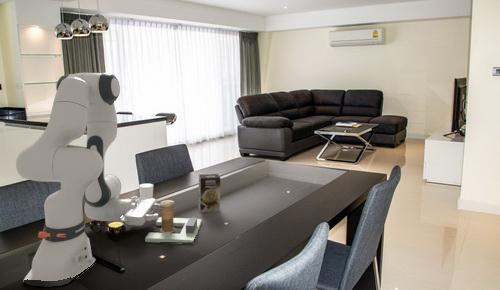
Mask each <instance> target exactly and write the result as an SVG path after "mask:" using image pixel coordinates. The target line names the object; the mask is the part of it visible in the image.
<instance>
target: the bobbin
mask: <svg viewBox="0 0 500 290" xmlns="http://www.w3.org/2000/svg"><path fill="white" fill-rule="evenodd" d="M159 204H160V206H161V210H160V211H161V212H160V214H161V216H160V217H162V226H161V228H160V233H174V234H175V231H176V227H175V226H174V222H173V218H174V206H175V201H174V200H170V199H165V200H162V201H160V202H159Z"/></svg>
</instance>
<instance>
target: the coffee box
mask: <svg viewBox="0 0 500 290" xmlns="http://www.w3.org/2000/svg"><path fill="white" fill-rule="evenodd" d="M197 202H198V205H197V206H198V211H199V213H212V212H220V211H221V209H220V208H221V206H220V205H221V176H220V174H219V173H209V174H206V173H205V174H204V173H203V174H198V201H197Z"/></svg>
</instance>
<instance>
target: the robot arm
mask: <svg viewBox="0 0 500 290" xmlns="http://www.w3.org/2000/svg"><path fill="white" fill-rule="evenodd" d="M55 88H56V93H55V95H54V99H53V102H52V107H51V112H50V115H49V119H48V123H47V126H46V128H45V130H44V131H43V133H42V134H41V135H40V136H39V138H38V139H37V140H36V141H35V142H34V143H32V144H31V145H30V146H28V147H27V148H24V149H22V150H21V151H20V153H19V154H18V156H17V158H16V161H15V165H16V166H15V168H16V171H17V173H18V175H19V176H20V177H21V178H23V179H25V180H28V181H29V180H30V181H34V182H49V183H50V182H52V183H53V182H54V183H59V184H60V190H57V191H55V192H53V193H51V194H49V195H48V197H46V199H45V200H44V204H43V208H44V220H45V221H44V222H45V223H44V227H43V230H42V231H39V232H38V234H37V235H38V236H37V237H38V238H39V239H42V240H41V242H40V244H39V247H38V248H37V251H36V253H35V255H34V256H33V259H32V262H31V269H30V270H29V271H28V273H27V274H26V276H25V277H24V279H23V281H24V280H27V279H28V280H41V281H58V280H63V279H67V278H70V277H71V278H73V277H75V276H76V275H78V274H80V273H81V272H83V271H84V270H85V269H87V268H88V267H90V266H91V265H92V264H93V263H94V262H95V261H96V258H95V257H94V256H93V254H92V249H91V243H90V242H91V241H90V240H91V239H90V238H89V237H88V235H87V233H86V232H85V231H86V222H85V218H84V214H85V216H86V217H87V218H88V219H91V220H94V221H101V222H109V221H115V222H120V223H124V224H126V225H127V226H137V227H139V226H144V224H145V223H146V221H147V222H149V221H153V220H154V221H155V220H156V221H157V220H158V218H159V217H160V214H159V213H154V214H152V213H153V212H154V211H155V210H159V211H161V206H160V203H158V202H157V199H156V198H153V197H152V198H144V197H141V198H140V197H138V195H133V196H130V197H128V198H120V196H121V193H122V192H121V191H122V182H121V180H120V179H119V178H118V177H117V176H116V175H113V174H105V156H106V152H107V151H108V149H109V147H110V146H112V143H113V142H114V141H115V140H116V138H117V134H118V119H117V111H116V106H115V102H116V100H117V99H118V98H119V96H120V93H121V92H120V91H121V88H120V82H119V79H118V78H117V77H116V76H115V74H112V73H109V72H102V73H101V72H78V73H67V74H64V75H62V76H60V77H59V78H58V80H57V82H56V87H55ZM85 132H86V133H87V135H86V137H87V138H86V148H85V147H73V146H72V147H69V146H68V145H69V144H71V143H72V142H74V141H75V140H77V139H80V138H81V137H82V136H83V135H84V134H85ZM83 201H84V202H83ZM83 205H84V206H83ZM83 210H84V211H83ZM83 212H84V213H83ZM96 262H97V261H96ZM93 265H94V264H93ZM93 265H92V266H93ZM92 266H91V267H92ZM91 267H90V268H91ZM88 269H89V268H88ZM88 269H87V270H88ZM83 273H84V272H83Z"/></svg>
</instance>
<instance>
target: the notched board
mask: <svg viewBox="0 0 500 290" xmlns="http://www.w3.org/2000/svg"><path fill="white" fill-rule="evenodd" d="M173 222H174V227H180V228H181V227H182V229H181V231H180V233H175V232H174V233H161V232H148V233H147V235H146V236H145V238H144V240H145V242H146V243H160V242H193V241H194V239H195V240H196V238H197V236H196V235H198V233H199V231H198V230H200V228H201V226H202V222H203V219H202V218H198V217H188V218H185V217H173ZM155 225H156V226H161V227H162V217H161V216H159V218H158V220H156V222H155ZM195 237H196V238H195ZM194 242H195V241H194Z"/></svg>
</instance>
